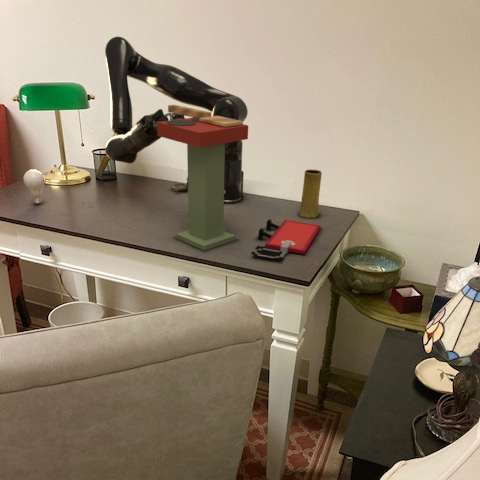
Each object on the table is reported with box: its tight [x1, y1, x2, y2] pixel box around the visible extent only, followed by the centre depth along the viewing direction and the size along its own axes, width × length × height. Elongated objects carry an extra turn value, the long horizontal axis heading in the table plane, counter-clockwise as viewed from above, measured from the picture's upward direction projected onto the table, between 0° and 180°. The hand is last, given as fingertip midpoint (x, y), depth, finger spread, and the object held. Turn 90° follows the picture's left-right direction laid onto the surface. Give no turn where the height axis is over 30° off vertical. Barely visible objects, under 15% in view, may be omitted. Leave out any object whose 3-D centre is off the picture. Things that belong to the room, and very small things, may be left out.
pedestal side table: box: [157, 117, 249, 251], centre depth 145 cm, size 18×17×31 cm
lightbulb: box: [22, 169, 46, 205], centre depth 169 cm, size 6×6×11 cm
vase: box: [298, 169, 322, 219], centre depth 168 cm, size 6×6×14 cm
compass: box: [171, 176, 188, 193], centre depth 188 cm, size 8×8×7 cm
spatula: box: [167, 104, 244, 127], centre depth 143 cm, size 26×6×2 cm, turn 45°
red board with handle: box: [250, 219, 321, 260], centre depth 150 cm, size 30×3×15 cm
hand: (174, 111), depth 150 cm, fingers open, 8 cm apart
